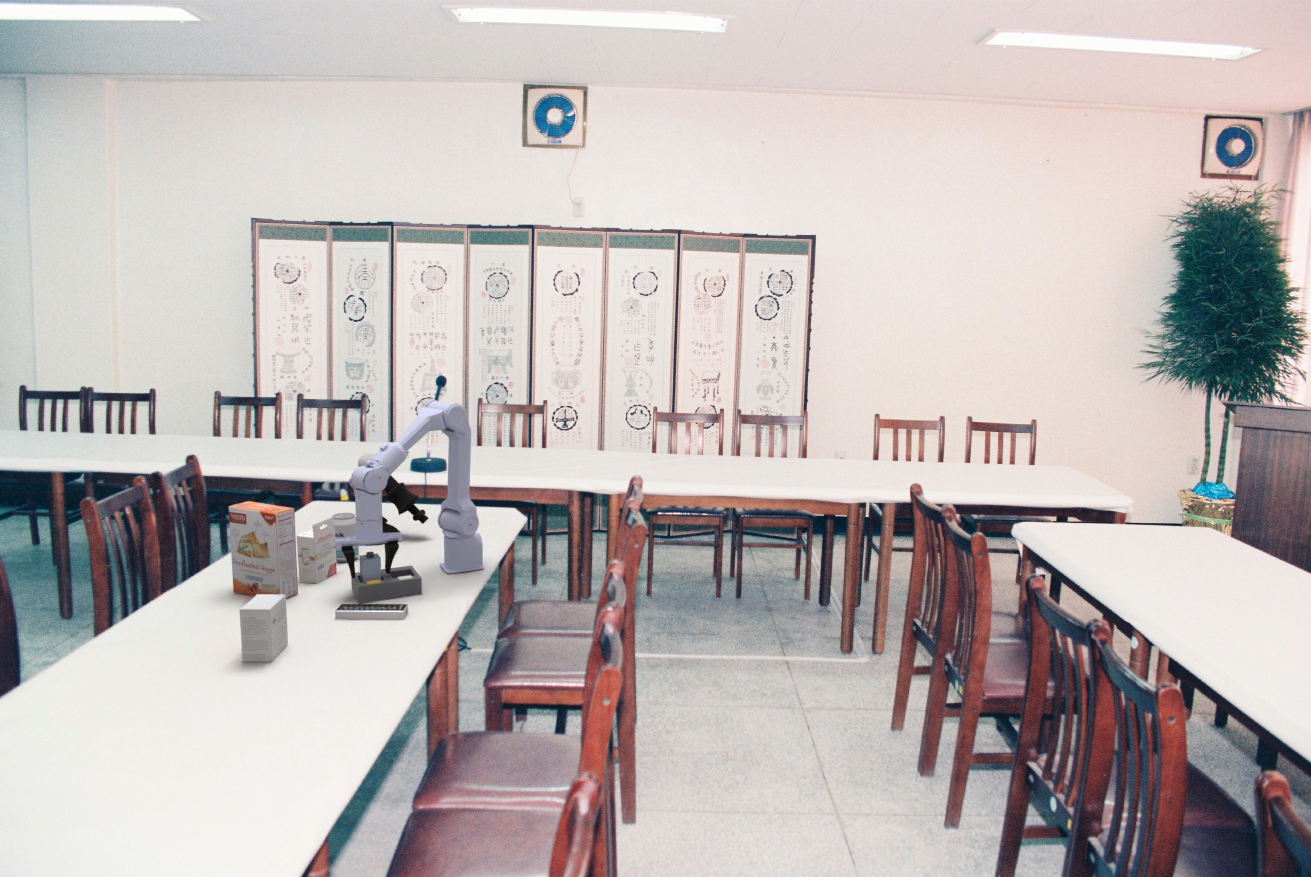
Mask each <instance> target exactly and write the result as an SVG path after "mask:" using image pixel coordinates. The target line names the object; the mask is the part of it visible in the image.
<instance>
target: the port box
mask: <svg viewBox="0 0 1311 877" xmlns="http://www.w3.org/2000/svg"><path fill="white" fill-rule="evenodd" d="M350 577H351V576H350ZM350 582H351V591H352V593H353V595H354V596H355V598H356V601H357V604H367V603H370V602H371V603H372V602H380V601H384V600H391V599H392V600H393V599H398V598H405V597H413V596H419V595H422V594H423V592H422V591H423V587H422V585H423V584H422V583H423V582H422V576H420V574H419V573H418V571H417V570H416V569H415V568H414V566H413V565H406V566H398V567H391V570H390V574H387V573H386V572H385V568H381V580H380V579H379V580H372V581H366V582H363V583H361V582H360V571H359V572H355V578H352V577H351V580H350Z"/></svg>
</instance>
